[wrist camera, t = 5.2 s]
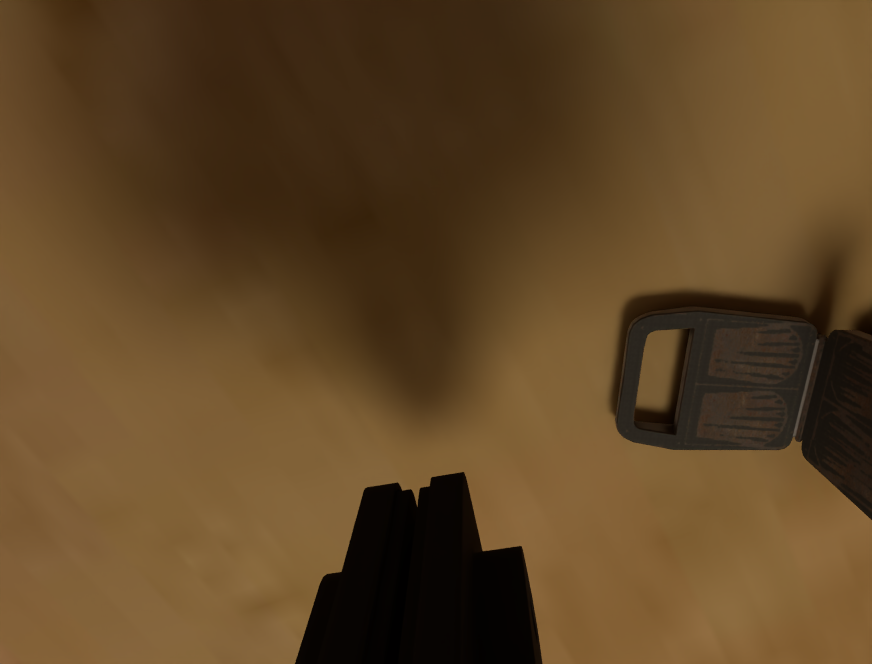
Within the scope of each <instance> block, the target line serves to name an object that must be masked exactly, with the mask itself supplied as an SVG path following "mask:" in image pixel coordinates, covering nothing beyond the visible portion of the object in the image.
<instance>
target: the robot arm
mask: <svg viewBox="0 0 872 664" xmlns="http://www.w3.org/2000/svg"><path fill="white" fill-rule="evenodd" d="M295 664H542V657H541V650H540V643H539V636H538V629H537V623H536V617H535V611H534V605H533V599H532V594H531V589H530V583H529V578H528V573H527V568H526V563H525V558H524V554H523V549H522V546H518V547H511V548H504V549H497V550H490V551H482V547H481V542H480V538H479V533H478V529H477V524H476V520H475V515H474V511H473V506H472V502H471V497H470V493H469V488H468V484H467V480H466V476H465V474H464V472H461V473H455V474H449V475H442V476H436V477H432V478H431V482H430V486H429V487H423V488H420V491H419V499H418V507H417V505H416V501H415V497H414V494H413V491H412V490H411V489H410V490H404V491H402V489H401V487H400V485H399V484H398V483H392V484H386V485H380V486H373V487H367V488H365V490H364V492H363V496H362V499H361V503H360V507H359V510H358V514H357V518H356V521H355V525H354V529H353V532H352V536H351V540H350V543H349V547H348V551H347V554H346V558H345V562H344V565H343V569H342V572H338V573H331V574H326V575H325V576H324V577H323V579H322V581H321V583H320V586H319V589H318V592H317V595H316V598H315V602H314V605H313V608H312V611H311V614H310V618H309V621H308V624H307V627H306V630H305V634H304V637H303V640H302V643H301V646H300V650H299V653H298V656H297V659H296V662H295Z"/></svg>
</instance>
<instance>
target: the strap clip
mask: <svg viewBox="0 0 872 664" xmlns="http://www.w3.org/2000/svg"><path fill="white" fill-rule="evenodd" d="M687 328H690V332H689V338H688V344H687V349H686V355H685V361H684V367H683V373H682V378H681V384H680V390H679V396H678V402H677V407H676V413H675V419H674V424H661V423H651V422H641V421H635V420H634V411H635V405H636V398H637V391H638V385H639V378H640V371H641V365H642V358H643V351H644V346H645V342H646V338H647V335H648V334H649V333H651V332H653V331H655V330H671V329H687ZM615 421H616V427H617V430H618V432H619V433H620V434H621V435H622V436H623V437H624V438H626V439H628V440H630V441H632V442H635V443H640V444H646V445H651V446H656V447H662V448H667V449H672V450H780V449H784V448H786V447H787V446H789V445H790V443H791V441H792V438H793V437H795V440H796V441H797V442H801V441H802V440H803V441H802V453H803V456H804V457H805V459H806V460H807V461H808V462H809V463H810V464H812V465H813V466H814V467H815V468H816V469H817V470H818V471H819V472H820V473H821V474H822V475H823V476H825V477H826V478H827V479H828V480H829V481H830V482H831V483H832V484H833V485H834V486H835V487H837V488H838V489H839V490H840V491H841V492H842V493H843V494H844V495H845V496H846V497H847V498H848V499H850V500H851V501H852V502H853V503H854V504H855V505H856V506H857V507H858V508H859V509H860V510H862V511H863V512H864V513H865V514H866V515H867V516H868V517H869V518H870V519H871V520H872V335H869V334H867V333H864V332H861V331H858V330H834V331H833V332H831V333H830V335H829V337H828V338H827V337H826V335H821V334H817V329H816V328H815V326H814V325H812V324H811V323H809V322H808V321H806V320H804V319H802V318H799V317H791V316H781V315H772V314H762V313H753V312H743V311H734V310H724V309H715V308H705V307H696V306H688V307H681V308H674V309H667V310H660V311H652V312H648V313H646V314H643V315H641V316H638V317H637V318H636V319H635V320H633V321H632V322H631V324H630V327H629V329H628V332H627V339H626V347H625V354H624V361H623V368H622V375H621V382H620V390H619V397H618V404H617V411H616V418H615Z"/></svg>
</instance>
